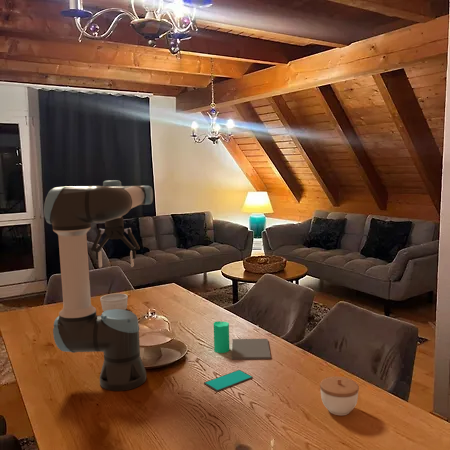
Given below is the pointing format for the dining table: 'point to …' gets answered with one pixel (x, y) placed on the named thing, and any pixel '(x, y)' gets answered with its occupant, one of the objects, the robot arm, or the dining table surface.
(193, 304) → the dining table surface
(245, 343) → the mat
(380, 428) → the dining table surface
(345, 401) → the lidded jar
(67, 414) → the dining table surface
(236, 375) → the smartphone
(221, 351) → the candle
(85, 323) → the robot arm
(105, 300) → the ramekin
